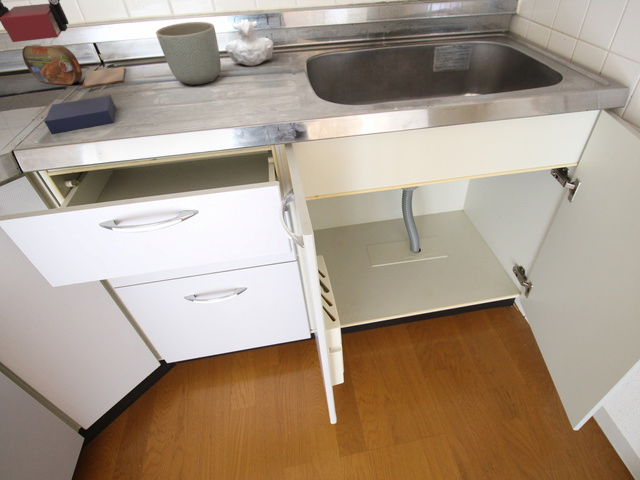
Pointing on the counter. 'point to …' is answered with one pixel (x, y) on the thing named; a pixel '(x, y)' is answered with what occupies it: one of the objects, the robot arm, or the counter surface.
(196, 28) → the planter
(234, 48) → the bust
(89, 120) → the bottom book
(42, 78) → the tin
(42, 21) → the top book
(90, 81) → the pad
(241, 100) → the counter surface
